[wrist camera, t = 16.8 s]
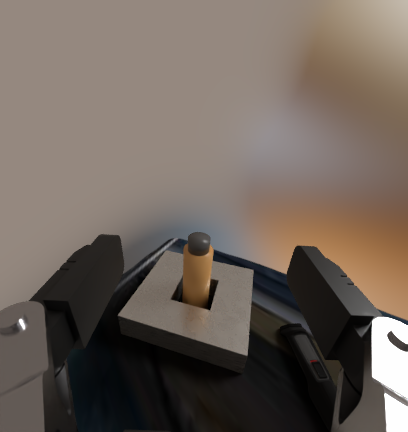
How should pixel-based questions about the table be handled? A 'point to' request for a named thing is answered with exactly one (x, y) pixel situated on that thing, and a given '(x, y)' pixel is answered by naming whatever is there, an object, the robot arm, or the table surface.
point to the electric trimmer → (313, 371)
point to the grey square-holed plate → (193, 313)
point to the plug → (197, 270)
